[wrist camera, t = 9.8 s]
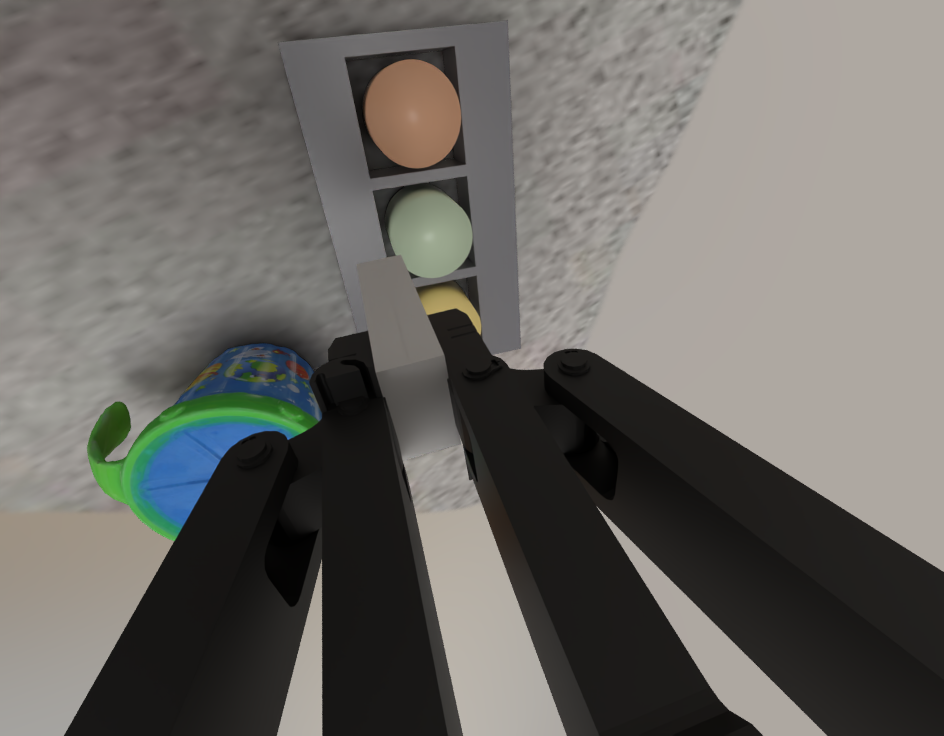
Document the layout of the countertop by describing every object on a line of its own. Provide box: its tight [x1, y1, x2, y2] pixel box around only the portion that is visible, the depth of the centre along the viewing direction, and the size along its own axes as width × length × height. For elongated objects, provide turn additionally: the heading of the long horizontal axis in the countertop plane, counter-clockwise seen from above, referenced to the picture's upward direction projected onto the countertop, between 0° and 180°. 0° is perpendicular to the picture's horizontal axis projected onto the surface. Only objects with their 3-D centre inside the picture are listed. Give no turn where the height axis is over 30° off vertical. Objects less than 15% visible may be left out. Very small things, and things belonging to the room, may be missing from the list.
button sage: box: [385, 183, 473, 278], centre depth 26 cm, size 5×5×4 cm
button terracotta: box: [362, 59, 461, 168], centre depth 23 cm, size 5×5×4 cm
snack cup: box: [87, 343, 322, 541], centre depth 27 cm, size 16×10×10 cm
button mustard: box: [415, 280, 481, 334], centre depth 30 cm, size 5×5×4 cm
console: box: [278, 20, 521, 355], centre depth 27 cm, size 19×11×3 cm, turn 6°
